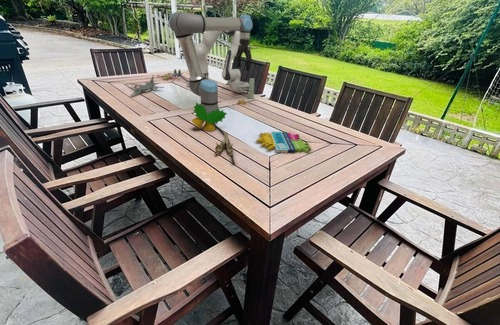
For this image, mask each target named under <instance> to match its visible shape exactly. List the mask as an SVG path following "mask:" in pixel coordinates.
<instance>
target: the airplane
mask: <svg viewBox="0 0 500 325" xmlns="http://www.w3.org/2000/svg"><path fill="white" fill-rule="evenodd" d="M154 76H155V75H154V74H152V77H151V78H150V80H149V81H144V83H145V84H137V83H130V85H131V86H133V89H135V90H134V91H133V92H132V93H131V94H130V97H135V96H137V95H139V94H141V93H148V92H150V91H151V90H153V91H157V90H158V88H159V89H162V88H163V89H165V86H156V85H161V82H160V83H159V82H158V83H157V82H155V81H154V78H155V77H154Z"/></svg>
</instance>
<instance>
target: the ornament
mask: <svg viewBox="0 0 500 325" xmlns="http://www.w3.org/2000/svg"><path fill="white" fill-rule="evenodd" d="M219 110H220V108H219V109H217V110H216V111H214V110H212V112H211V113H208V112H206V109H204V106H201V103H198V102H195V105H194V106H193V112H194V113H195V118H192V119H191V122H192V123H193V125H195V127H197V128H198V129H202V130H203V131H206V132H212V131H213V132H214V131H215V130H216V127H215V125H214V123H215V124H218V123H219V122H223V119H226V115H227V114H228V113H227V112H224V110H223V109H221V110H220V111H219ZM207 113H208V115H207Z"/></svg>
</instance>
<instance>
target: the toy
mask: <svg viewBox="0 0 500 325" xmlns="http://www.w3.org/2000/svg"><path fill="white" fill-rule="evenodd" d="M179 75H180V76H182V73H181V69H178V72H177V69H176V68H174V70H173V72H168V73H166V74H164V75H160V74H156V75H155V76H156V78H162V80H164V81H168V80H169V79H173V80H175V79H176V80H178V81H180V79H181V77H180V76H179ZM176 76H177V77H176Z"/></svg>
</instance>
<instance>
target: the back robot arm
mask: <svg viewBox="0 0 500 325" xmlns="http://www.w3.org/2000/svg"><path fill="white" fill-rule="evenodd" d="M222 34H224V35H226V36H229V37H230V38H231V44H230V48H229V49H228V51H227V52H226V55H225V60H224V64H223V69H222V71H221V77H222V79H223V80H224V81H225V82H226V81H227V85H228V87H229V88H230V89H231V90H232V91H234V92H244V91H249V81H241V80H242V77H243V75H242V71H241V70H240V69H239V68H231V63H232V60H233V59H234V58H235V57H236V54H237V51H238V45H240V44H239V41H240V31H205V32H204V33H203V37H202V39H201V40H200V43H199V44H196V45H194V46H195V49H196V53H197V57H198V60H199V64H200V67H201V71H202V73H203V74H205V77H206V79H208V80H209V78H210V77H209V64H208V63H209V62H208V59H207V56H208V55H209V53H210V52H211V51H212V48H213V47H214V45H215V43H216V42H217V41H218V40H219V38H220V36H221V35H222ZM178 77H179V78H182V79H183V80H185V81H186V82H188V84H187V87H189V83H190V81H189V79H188V80H187V79H186V78H185V77H183V76H182V75H179V76H178Z"/></svg>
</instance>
